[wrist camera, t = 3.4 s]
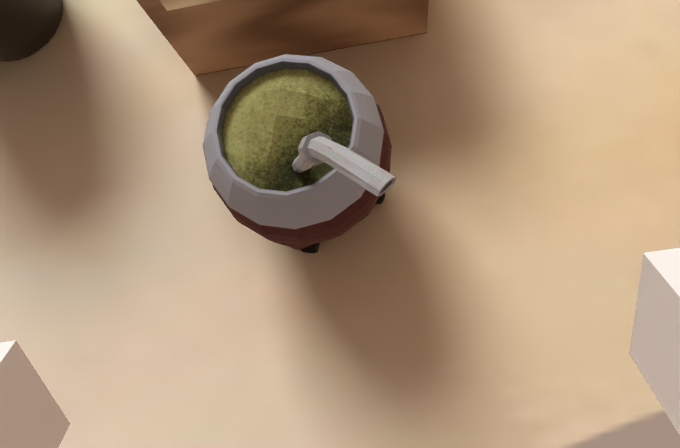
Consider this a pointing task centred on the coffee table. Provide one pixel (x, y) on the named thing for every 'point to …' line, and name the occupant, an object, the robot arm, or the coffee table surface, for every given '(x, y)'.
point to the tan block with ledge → (277, 27)
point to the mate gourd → (298, 150)
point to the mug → (27, 26)
